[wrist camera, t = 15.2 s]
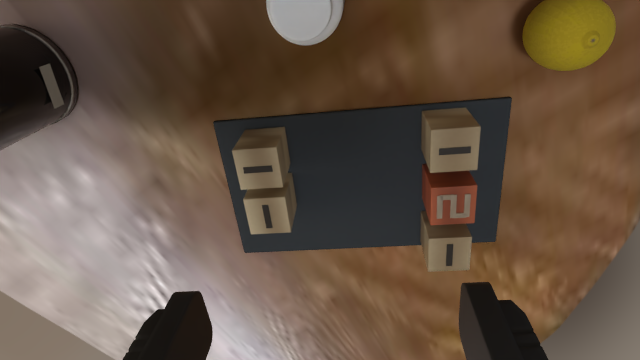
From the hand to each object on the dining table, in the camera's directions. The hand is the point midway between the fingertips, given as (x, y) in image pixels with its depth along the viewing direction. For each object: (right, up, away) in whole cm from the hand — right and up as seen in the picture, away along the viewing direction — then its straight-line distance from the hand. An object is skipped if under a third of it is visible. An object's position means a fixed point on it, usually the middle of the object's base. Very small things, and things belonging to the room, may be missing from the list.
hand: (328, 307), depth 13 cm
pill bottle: (-1, +19, +22) cm, 29 cm away
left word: (-5, +5, +29) cm, 30 cm away
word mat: (+4, +4, +30) cm, 30 cm away
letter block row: (+12, +4, +29) cm, 31 cm away
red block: (+12, +4, +28) cm, 31 cm away
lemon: (+18, +17, +22) cm, 33 cm away
